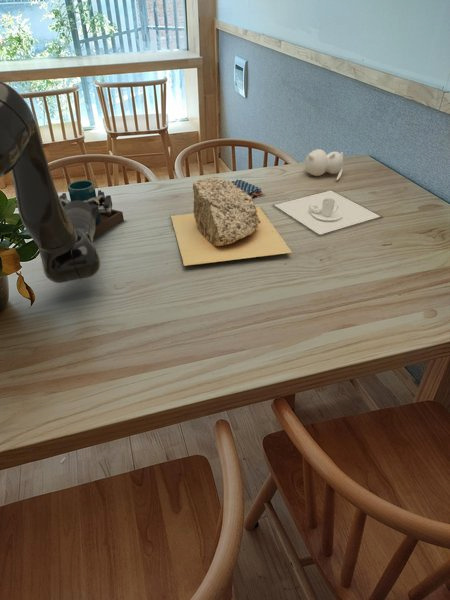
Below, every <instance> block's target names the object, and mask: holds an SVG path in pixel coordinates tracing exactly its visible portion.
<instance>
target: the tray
mask: <svg viewBox="0 0 450 600" xmlns="http://www.w3.org/2000/svg"><path fill="white" fill-rule="evenodd" d="M100 217H101V223H99V224H97V225H96V230H95V234H94V236H93V240H95V239H97V238H98V237H100V236H102V235H103V234H105V233H106V232H108V231H110V230H111V229H113V228H115V227H116V226H118V225H119V224H121V223H123V222H125V219H124V213H123V211H122V210H116V209H113V208H112V210H111V214H110V215H106V214H105V213H104V212H100Z"/></svg>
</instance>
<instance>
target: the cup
mask: <svg viewBox="0 0 450 600" xmlns="http://www.w3.org/2000/svg"><path fill="white" fill-rule="evenodd" d="M67 191H68V195H69V200H70V201H75V200H80V201H84V200H88V199H90V198H92V197H97V196H98V195H97V192H96V187H95V182H93V181H92V180H88V179H83V180H76V181H73V182H70V183H69V184H68V185H67ZM92 203H93V202H92ZM99 223H101V217H100V213H99V214H98V215H97V217H96V225H97V224H99Z"/></svg>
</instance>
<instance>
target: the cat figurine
mask: <svg viewBox="0 0 450 600" xmlns="http://www.w3.org/2000/svg"><path fill="white" fill-rule="evenodd" d="M343 166H344V152H343V151H341V152H339V151H336V150H333V151H330V152H329V153H327V152H325V151H324V150H323V149H320V148H316V149H314V150H312V151H311V152H309V153H308V154H307V156H306V157H305V161H304V167H303V169H302V172H306V173H309V174H310V175H312V176H314V177H319V176H322V175H323V174H325V173H329V174H331V175H335V174H337V173H338V175H337V176H336V179H335V181H338V180H340V178H341V176H342V174H343V169H344V167H343Z"/></svg>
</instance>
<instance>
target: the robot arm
mask: <svg viewBox="0 0 450 600" xmlns="http://www.w3.org/2000/svg"><path fill="white" fill-rule="evenodd" d="M9 173H10V174H11V176H12V181H13V187H14V193H15V200H16V205H17V211H18V214H19V217H20V220H21V223H22V224H23V226H24V228H25V230H26V232H27V233H28V235H29V236H30V238H31V239H32V241H33V242H34V243H35V245H36V246H37V249H38V252H39V254H40V259H41V268H42V271H43V274H44V276H45V278H47V280H49V281H51V282H53V283H56V284H63V283H68V282H73V281H77V280H82V279H88V278H92V277H93V276H95V275H96V274H97V273H98V272H99V270H100V268H101V258H100V255H99V253H98V250H97V248H96V247H95V244H94V239H93V236H94V234H95V230H96V217H97V215H98V214H99V213H100V212H104V213H105V214H106V215H110V214H111V210H112V209H113V202H112V201H113V200H112V195H109V194H108V195H106V196H105V192H104V191H102V190H101V189H98V190H97V195H96V196H97V197H92V198H90V199H88V200H84V201H80V200H75V201H71V200H70V199H68V196H67V193H66V192H63V193H62V194H61V195H59V193H58V191H57V189H56V186H55V182H54V180H53V176H52V173H51V169H50V166H49V162H48V159H47V156H46V153H45V150H44V146H43V142H42V139H41V135H40V132H39V128H38V123H37V122H36V118H35V116H34V114H33V112H32V109H31V108H30V106H29V104H28V103H27V102H26V100H25V98H24V97H23V96H22V95H21V94H20V93H19V92H18V91H17V90H16V89H14V88H13V87H12V86H11V85H9V84H7V83H6V82H4V81H1V80H0V178H1V177H3V176H4V177H5V176H6V175H8V174H9ZM92 202H93V203H92Z"/></svg>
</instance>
